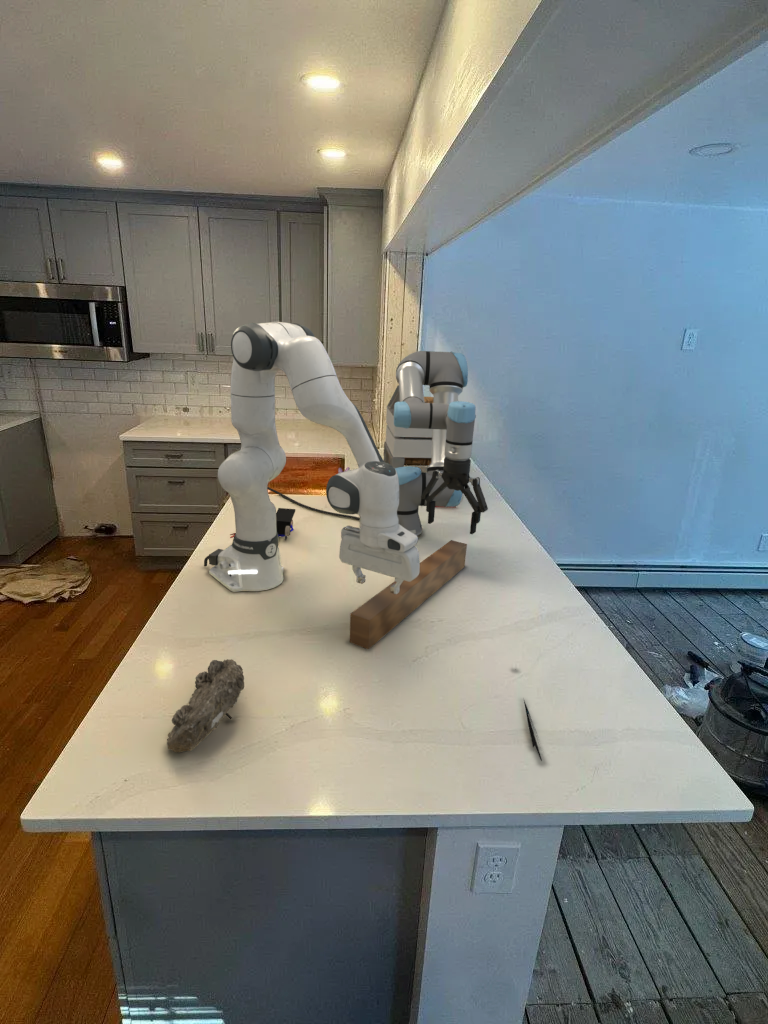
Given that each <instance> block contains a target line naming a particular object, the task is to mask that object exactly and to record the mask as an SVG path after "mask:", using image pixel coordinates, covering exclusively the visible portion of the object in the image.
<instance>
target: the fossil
mask: <svg viewBox="0 0 768 1024" xmlns="http://www.w3.org/2000/svg"><path fill="white" fill-rule="evenodd" d="M243 670H244V669H243V667H242V665H240V664H237V662H236V661H235V660H234V659H232V658H231V659H227V658H226V659H224V660H223V661H222V660H217V659H212V660H211V661H210V663H209V665H208V666H207V671H201V672H199V673H198V674H197V675H196V676H195V680H194V684H195V685H194V687H195V689H194V690H193V693H192V694H191V697H190V698H189V700H188V704H184V705H182V706H181V707H180V709H177V710H176V711H175V713H174V715H173V716H172V718H171V723H172V724H173V727H172V730H171V731H170V732H168V734H167V738H166V741H167V742H166V745H167V749H168V750H169V751H173V752H174V753H176V754H178V753H182V752H188V751H189V752H192V751H193V750H195V748H196V747H197V746H199V744H200V743H201V742H203V741H204V740H205V739H206V738H207V737H208V736H209V735H210V734H211V733H212V732H214V730H215V729H217V727H218V726H219V724H220V722H221V721H222V720H223V719H224V718H225V716H226V717H227V719H229V720H233V717H232V715H230V714H229V710H230V709H231V708H234V706H235V704H236V703H237V702H238V699H239V697H240V695H241V693H242V691H243V690H245V689H244V688H245V675H244V671H243Z"/></svg>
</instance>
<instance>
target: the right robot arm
mask: <svg viewBox="0 0 768 1024" xmlns="http://www.w3.org/2000/svg"><path fill="white" fill-rule="evenodd" d="M395 380H396V382H397V384H398V385H399V393H400V402H396V403H395V405H394V425H395V426H396V427H401V428H421V429H432V458H431V464H430V465H428V466H426V472H424V471H423V472H422V469H421V468H420V467H419V466H407V465H404V467H398V468H395V469H396V471H397V474H398V479H399V506H398V509H397V516H398V524H399V525H401V526H402V527H404V528H405V529H407V530H408V531H410V532H412V533H413V534H415V535H416V536H417V537H418V538H420V537H421V536H422V535H423V525H422V524H421V518H420V515H419V507H425V511H426V513H428V516H427V524H429V525H431V524H433V523H434V522H435V515H436V513H435V512H436V508H451V507H456V508H457V507H458V506H459V505H460V503H461V501H462V498H463V496H464V497H465V498H466V500H467V502H468V504H469V505H470V507H471V508H472V510H473V511H472V512H471V518H470V527H469V535H473V534H475V533H476V532H477V526H478V525H477V524H479V523H480V522H481V516H482V513H485V512H487V511H488V510H489V506H488V504H487V501H486V498H485V495H484V493H483V490H482V487H481V478H480V476H477V477H471V475H470V471H471V464H472V460H471V458H472V454H473V453H472V452H473V440H474V431H475V421H476V418H477V415H476V410H477V409H476V405H475V403H473V402H469V401H462V400H460V401H459V396H460V395H461V394H462V393H463V390H464V388H466V387H467V386H468V381H469V369H468V361H467V358H466V356H465V354H464V353H462V352H455V351H433V350H418V351H414V352H412V353H409V354H407V355H406V356H405V357H404V358H402V359H401V360H400V361H399V363H398V364H397V367H396V369H395ZM423 386H429V387H428V388H429V392H430V394H431V395H432V397H434V399H433V403H425V402H424V397H425V395H424V387H423ZM469 483H470V486H472V490H473V492H472V490H471V487H470V486H469ZM267 490H268V491H270V492H272V493H275V494H277V495H279V496H281V497H282V498H284V499H286V500H287V501H290V502H292V503H293V504H295V505H297V506H299V507H302V508H304V509H307V510H310V511H312V512H317V513H321V514H325V515H328V516H333V517H339V518H345V519H352V520H357V521H360V516H354V515H350V514H343V513H338V512H337V513H336V512H332V511H327V510H323V509H319V508H315V507H312V506H308V505H306V504H304V503H301V502H299V501H297V500H295V499H293V498H291V497H289V496H287V495H286V494H283V493H282V492H279V491H278V490H275V489H274V488H272V487H270V486H267ZM473 493H474V494H473ZM435 506H436V507H435Z"/></svg>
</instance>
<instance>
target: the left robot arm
mask: <svg viewBox="0 0 768 1024" xmlns="http://www.w3.org/2000/svg"><path fill="white" fill-rule="evenodd" d="M230 350H231V354H232V357H233V359H232V365H231V372H230V391H229V392H230V416H231V417H230V422H231V425H232V426H233V428H234V429H236V431H237V433H238V436H239V440H240V449H239V450H237V451H235V452H233V453H231V454H230V455H228V456H227V458H225V459H224V460H223V461H222V462H221V464H220V465H219V467H218V470H217V480H218V483H219V485H220V487H221V488H222V489H223V490H224V491H225V492H226V493H228V495H229V497H230V500H231V503H232V507H233V511H234V524H235V525H234V526H235V532H233V533H230V534H229V536H230V537H229V539H232V538H233V539H232V543H231V544H230V545H229V546H227V547H226V548H224V549H222V548H217V549H216V550H214V551H213V552H211V553H209V554H208V555H207V556H206V557H205V558H204V560H203V566H204V567H208V564H209V566H213V567H211V568H210V569H209V571H208V574H209V575H210V576H211V577H212V578H214V580H217V581H218V582H219V583H220V584H221V585H223V586H224V588H227V590H229V591H230V592H233V593H235V592H260V591H268V590H271V589H274V588H277V587H278V586H280V585H281V584H282V583H283V581H284V571H285V569H284V568H285V567H284V566H283V565H282V559H281V552H280V546H279V544H280V543H279V538H280V536H279V537H278V533H277V531H276V512H277V507H276V505H275V504H274V503H273V502H272V501H271V499H270V495H269V490H268V489H267V487H269V483H270V482H272V481H273V480H274V479H276V478H277V477H279V475H280V474H281V472H282V471H283V470H284V468H285V466H286V465H287V454H286V452H285V449H284V448H283V447H282V446H281V445H280V440H279V436H278V431H277V424H276V384H275V383H276V382H275V381H276V377H277V376H276V375H277V374H278V372H279V371H283V373H284V374H285V376H286V378H287V382H288V384H289V387H290V391H291V394H292V397H293V400H294V403H295V405H296V407H297V409H298V411H299V412H300V414H301V415H302V417H304V418H305V419H307V420H309V421H310V422H312V423H315V424H319V425H323V426H325V427H328V428H331V429H334V430H335V431H337V432H339V433H340V434H341V435H342V436H343V437H344V438H345V440H346V442H347V444H348V447H349V448H350V451H351V453H352V455H353V457H354V459H355V461H356V463H357V468H353V469H350V470H348V471H345V470H344V471H345V472H344V471H343V472H341V473H339V472H337V473H336V474H334V475H332V476H330V478H329V479H328V481H327V484H326V486H325V487H326V489H325V495H326V499H327V502H328V504H329V506H330V507H331V508H332V509H333V510H334V511H335V512H337V513H338V514H343V515H358V517H359V518H360V520H359V527H355V526H352V525H346V526H343V527H342V529H341V531H340V539H341V540H340V544H339V551H338V552H339V554H338V557H339V560H340V562H341V563H342V564H346V565H349V566H352V567H351V569H352V571H353V574H354V575H355V576H356V583H357V584H361V585H363V584H364V583H366V577H367V576H366V575H365V574H363V571H362V569H363V570H366V571H370V572H374V573H377V574H381V575H385V576H388V577H390V578H394V581H396V582H397V583H396V584H393V585H392V586H391V587H390V589H391V591H390V592H391V593H394V594H397V593H399V590H400V585H401V583H402V582H403V581H404V580H405V581H408V582H410V581H412V580H414V579H415V578H416V577H417V576H418V575H419V571H420V562H421V561H420V559H421V558H420V552H419V551H420V550H419V549H418V547H417V546H416V545H417V544H418V541H419V537H417V536H416V535H415V534H413V533H412V532H410V531H408V530H407V529H405V528H404V527H402V526H401V525H399V524H398V516H397V509H398V506H399V479H398V474H397V471H396V469H395V468H394V467H393V466H391V465H390V464H388V463H385V462H384V458H383V457H382V455H381V454H380V451H379V449H378V447H377V445H376V443H375V441H374V438H373V436H372V433H371V431H370V430H369V428H368V425H367V424H366V421H365V420H364V417H363V416H362V414H361V413H362V412H360V410H359V408H358V407H357V406H356V405H355V404H354V403H353V402H352V401H351V400H350V399H349V397H348V396H347V395H346V392H345V391H344V389H343V387H342V385H341V383H340V381H339V378H338V375H337V373H336V369H335V367H334V365H333V362H332V360H331V357H330V355H329V354H328V352H327V350H326V348H325V346H324V345H323V343H322V341H321V340H320V339H319V338H317V337H315V334H314V333H313V331H312V330H311V329H310V328H309V327H308V326H306V325H303V324H300V323H296V322H291V323H289V322H284V321H283V322H282V321H271V322H259V323H255V322H251V323H245V324H243V325H239V326H238V327H237V328H236V329H235V330H234V331H233V333H232V335H231V341H230Z"/></svg>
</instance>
